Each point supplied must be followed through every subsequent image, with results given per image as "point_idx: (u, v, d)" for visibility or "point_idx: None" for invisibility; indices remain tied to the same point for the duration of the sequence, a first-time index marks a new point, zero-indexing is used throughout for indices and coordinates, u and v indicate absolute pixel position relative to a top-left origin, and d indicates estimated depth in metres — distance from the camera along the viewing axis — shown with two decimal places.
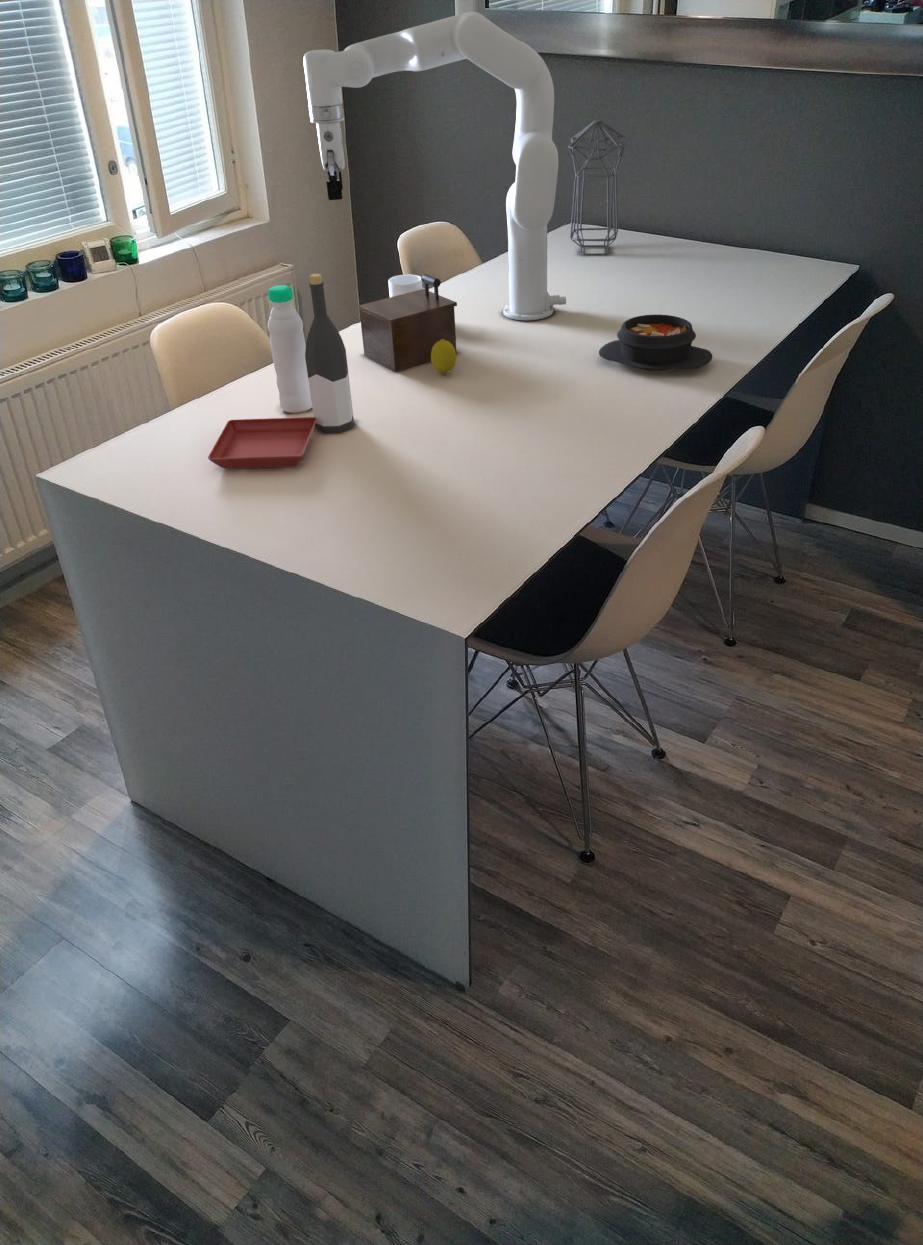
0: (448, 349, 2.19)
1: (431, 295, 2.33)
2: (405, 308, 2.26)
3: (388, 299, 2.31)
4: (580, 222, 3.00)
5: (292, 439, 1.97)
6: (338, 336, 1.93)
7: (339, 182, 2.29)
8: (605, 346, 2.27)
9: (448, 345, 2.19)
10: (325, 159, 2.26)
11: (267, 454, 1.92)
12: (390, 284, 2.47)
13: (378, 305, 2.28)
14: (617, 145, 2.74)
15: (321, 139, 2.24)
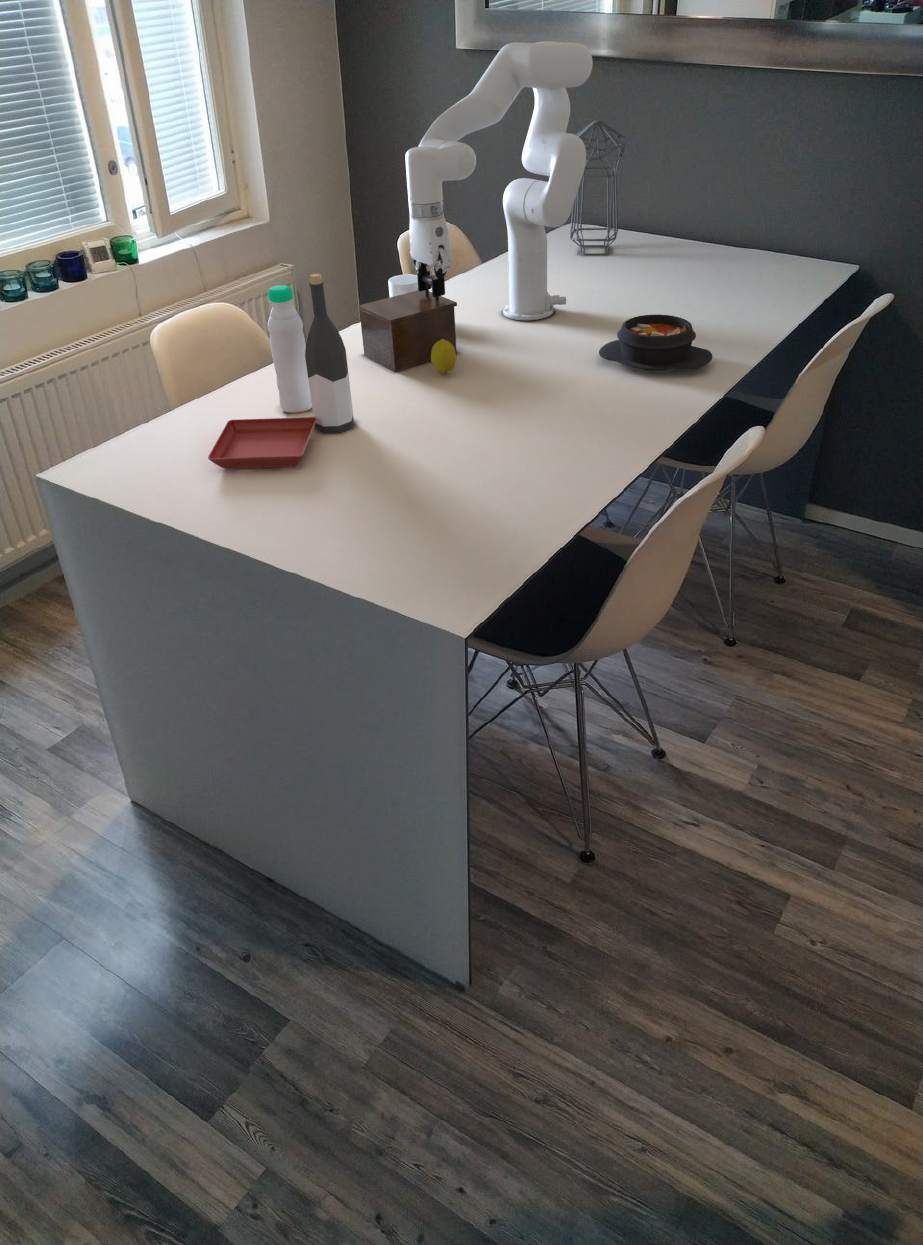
0: (448, 349, 2.19)
1: (431, 295, 2.33)
2: (405, 308, 2.26)
3: (388, 299, 2.31)
4: (580, 222, 3.00)
5: (292, 439, 1.97)
6: (338, 336, 1.93)
7: (443, 278, 2.27)
8: (605, 346, 2.27)
9: (448, 345, 2.19)
10: (436, 260, 2.22)
11: (267, 454, 1.92)
12: (390, 284, 2.47)
13: (378, 305, 2.28)
14: (617, 145, 2.74)
15: (432, 236, 2.19)
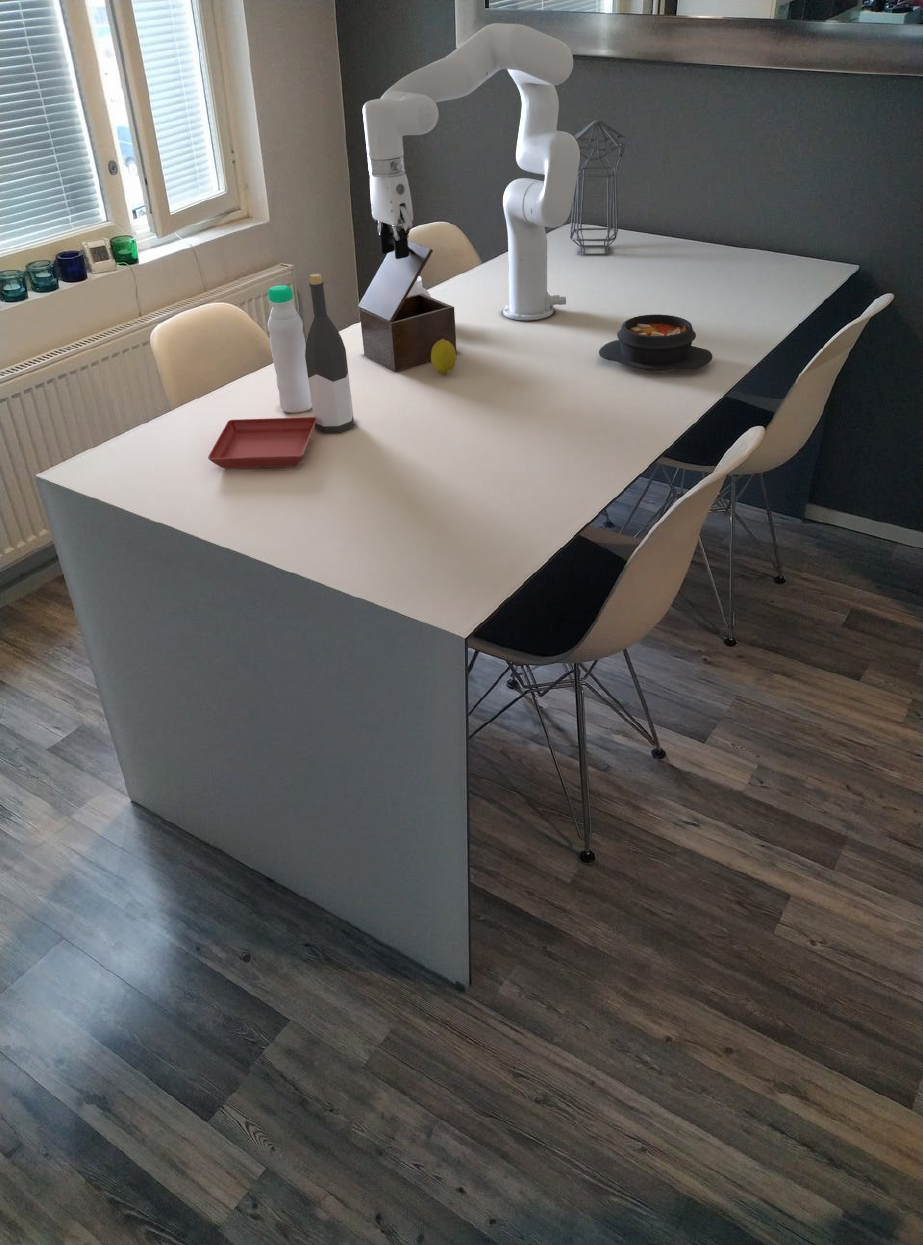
0: (448, 349, 2.19)
1: None
2: (394, 289, 2.22)
3: (376, 280, 2.27)
4: (580, 222, 3.00)
5: (292, 439, 1.97)
6: (338, 336, 1.93)
7: (406, 239, 2.17)
8: (605, 346, 2.27)
9: (448, 345, 2.19)
10: (397, 219, 2.12)
11: (267, 454, 1.92)
12: None
13: (372, 296, 2.26)
14: (617, 145, 2.74)
15: (393, 193, 2.09)
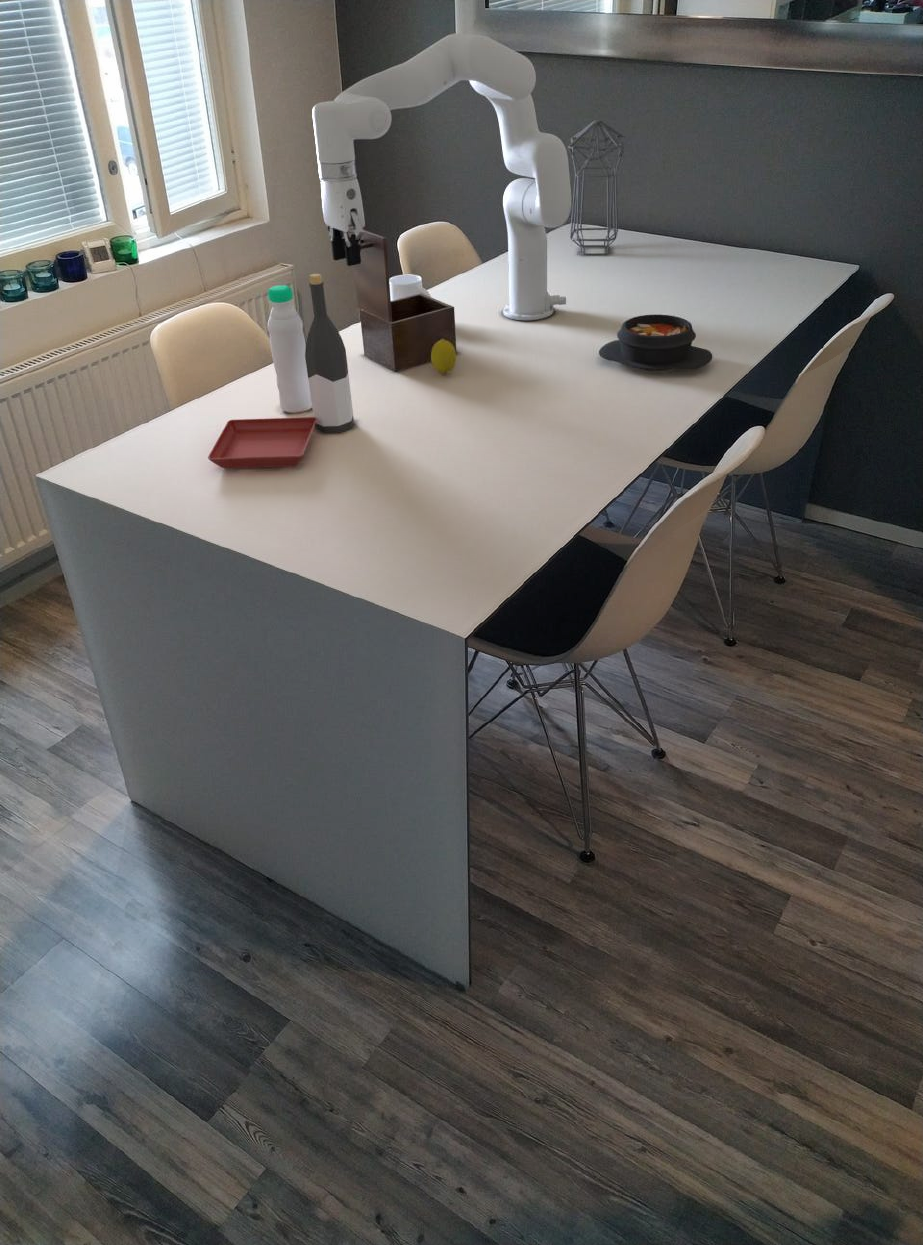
0: (448, 349, 2.19)
1: (363, 238, 2.16)
2: (376, 286, 2.19)
3: (357, 277, 2.24)
4: (580, 222, 3.00)
5: (292, 439, 1.97)
6: (338, 336, 1.93)
7: (358, 245, 2.11)
8: (605, 346, 2.27)
9: (448, 345, 2.19)
10: (348, 225, 2.06)
11: (267, 454, 1.92)
12: (390, 284, 2.47)
13: (363, 296, 2.25)
14: (617, 145, 2.74)
15: (343, 198, 2.03)
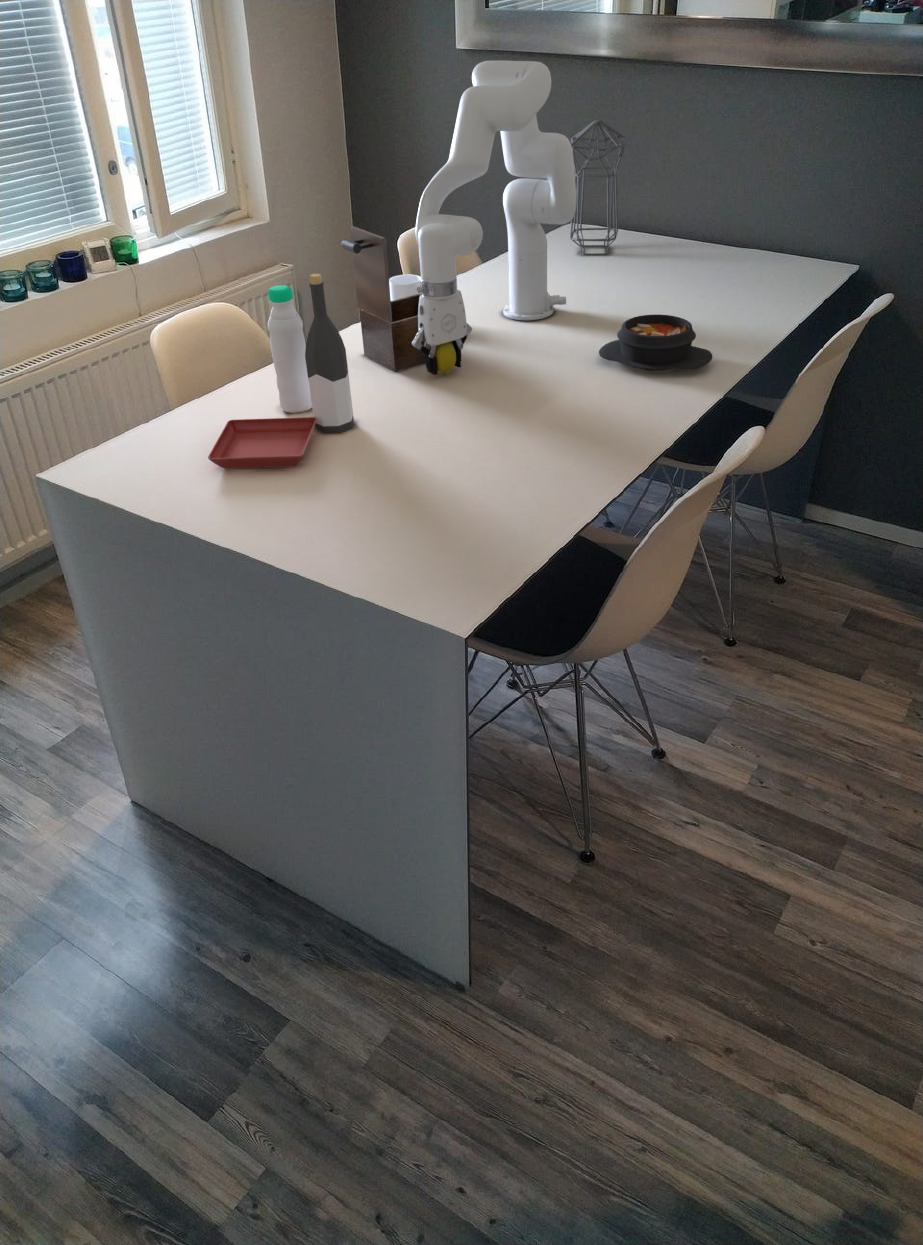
0: (448, 349, 2.19)
1: (363, 238, 2.16)
2: (376, 286, 2.19)
3: (357, 277, 2.24)
4: (580, 222, 3.00)
5: (292, 439, 1.97)
6: (338, 336, 1.93)
7: (433, 359, 2.19)
8: (605, 346, 2.27)
9: (448, 345, 2.19)
10: None
11: (267, 454, 1.92)
12: (390, 284, 2.47)
13: (363, 296, 2.25)
14: (617, 145, 2.74)
15: (418, 311, 2.15)
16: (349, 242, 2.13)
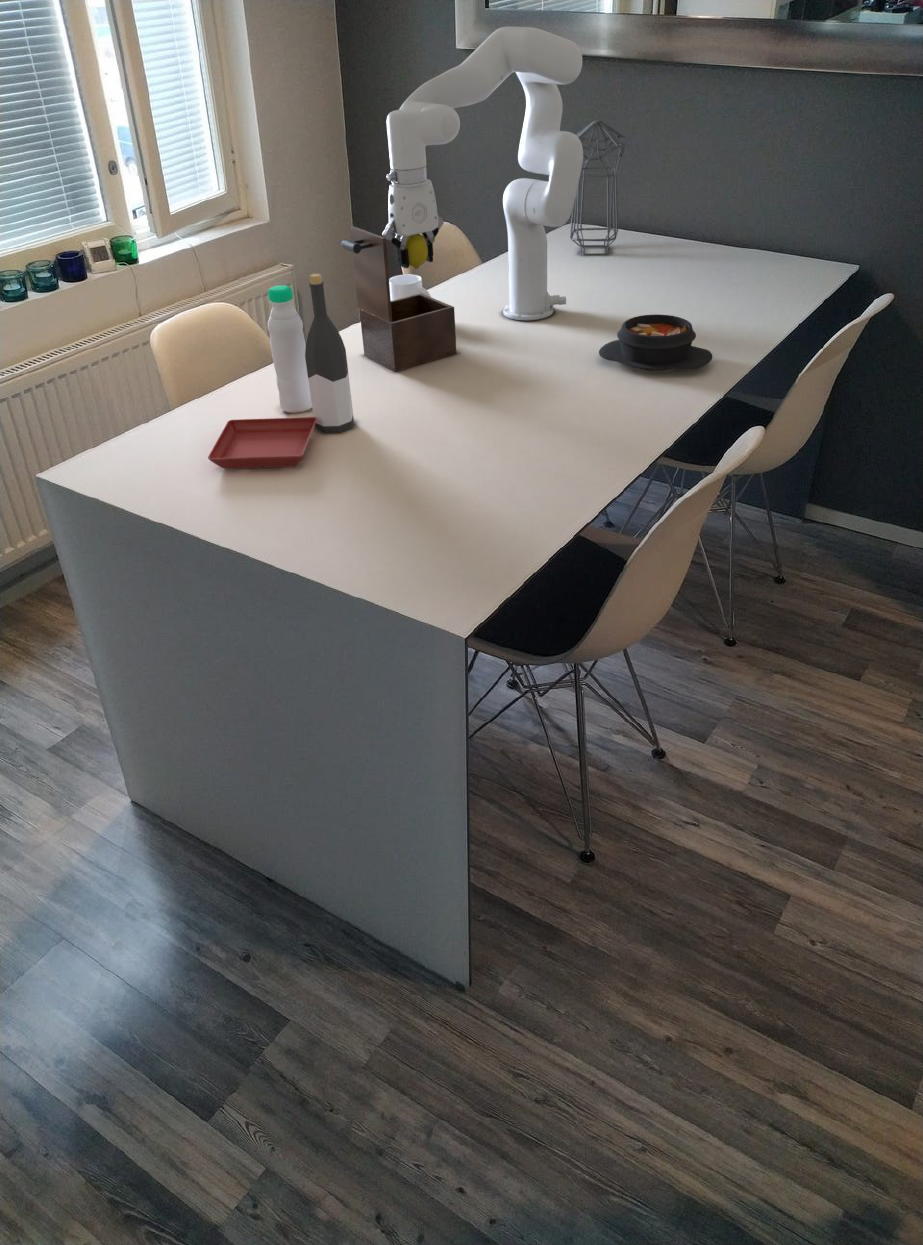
0: (419, 241, 2.17)
1: (363, 238, 2.16)
2: (376, 286, 2.19)
3: (357, 277, 2.24)
4: (580, 222, 3.00)
5: (292, 439, 1.97)
6: (338, 336, 1.93)
7: (404, 251, 2.17)
8: (605, 346, 2.27)
9: (420, 237, 2.17)
10: None
11: (267, 454, 1.92)
12: (390, 284, 2.47)
13: (363, 296, 2.25)
14: (617, 145, 2.74)
15: (388, 201, 2.13)
16: (349, 242, 2.13)
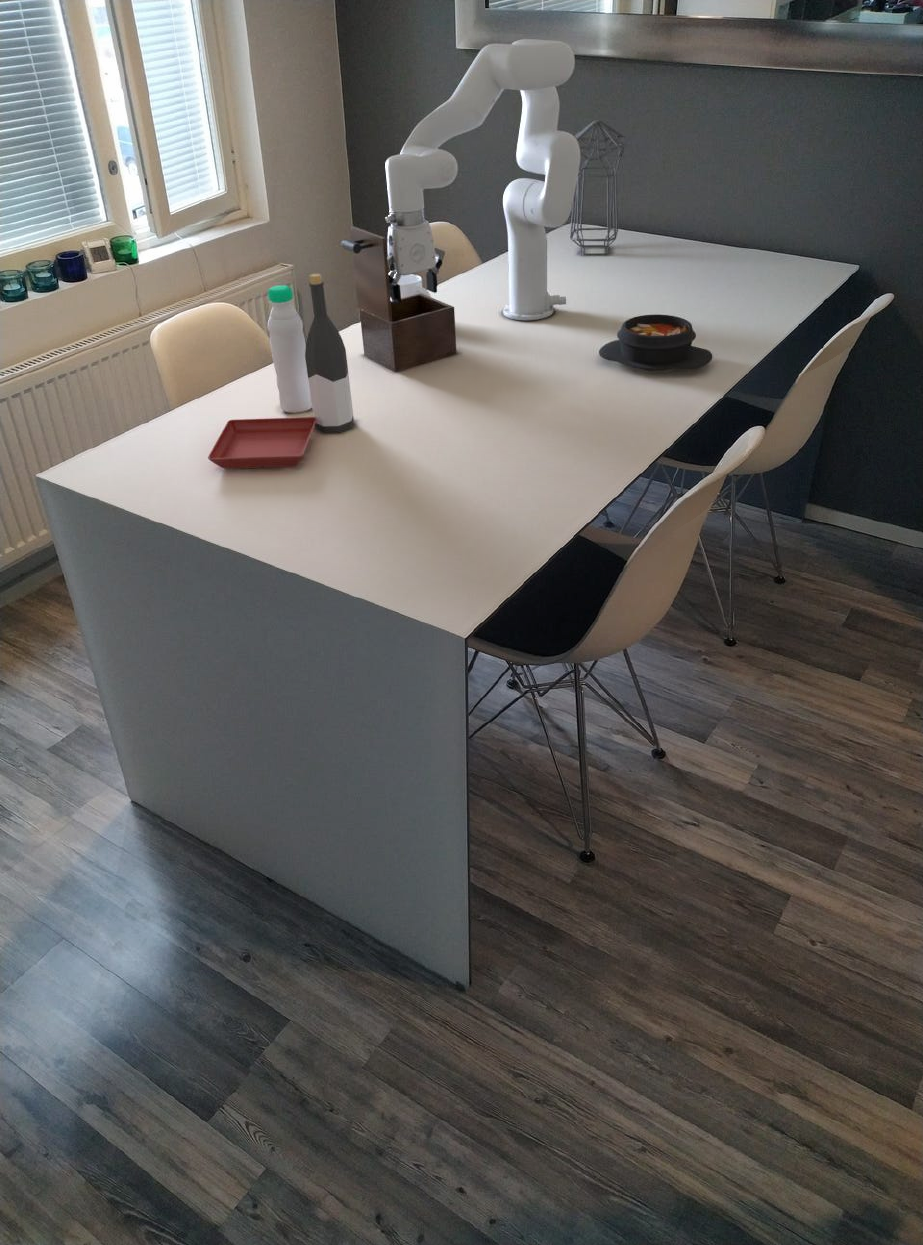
0: None
1: (363, 238, 2.16)
2: (376, 286, 2.19)
3: (357, 277, 2.24)
4: (580, 222, 3.00)
5: (292, 439, 1.97)
6: (338, 336, 1.93)
7: (396, 286, 2.23)
8: (605, 346, 2.27)
9: None
10: None
11: (267, 454, 1.92)
12: None
13: (363, 296, 2.25)
14: (617, 145, 2.74)
15: None
16: (349, 242, 2.13)
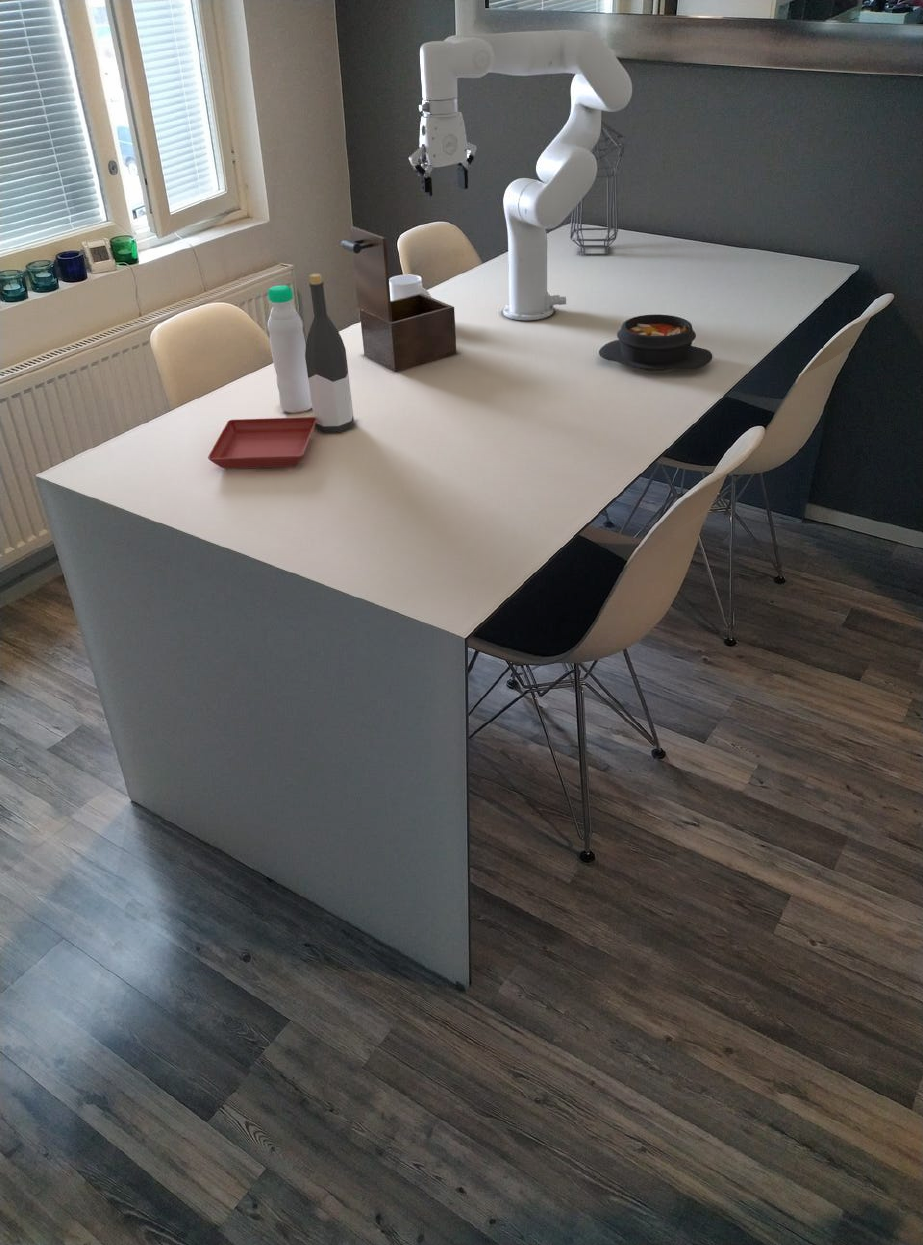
0: None
1: (363, 238, 2.16)
2: (376, 286, 2.19)
3: (357, 277, 2.24)
4: (580, 222, 3.00)
5: (292, 439, 1.97)
6: (338, 336, 1.93)
7: (428, 179, 2.22)
8: (605, 346, 2.27)
9: None
10: None
11: (267, 454, 1.92)
12: (390, 284, 2.47)
13: (363, 296, 2.25)
14: (617, 145, 2.74)
15: (420, 132, 2.19)
16: (349, 242, 2.13)
